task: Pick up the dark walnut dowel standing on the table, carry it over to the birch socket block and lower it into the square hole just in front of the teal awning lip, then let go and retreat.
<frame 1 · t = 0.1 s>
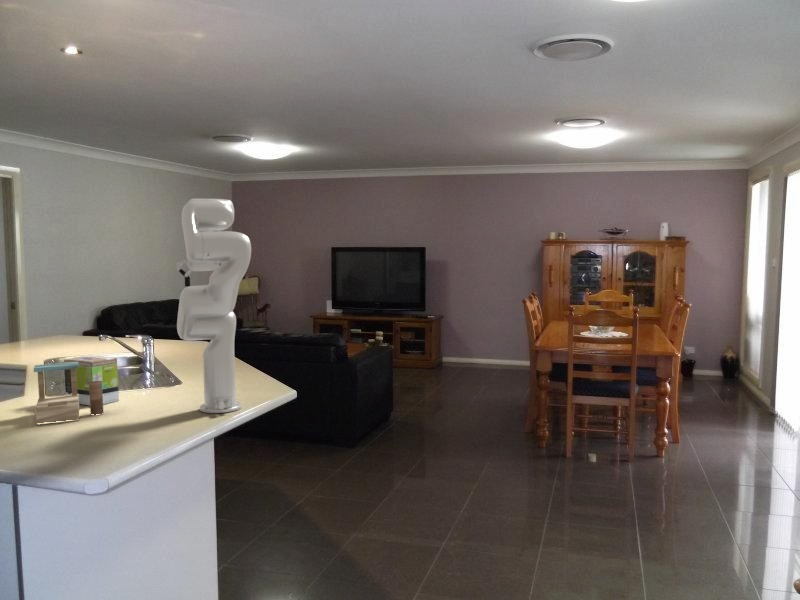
hand: (203, 288, 226), 37 cm above the table, tool pointing down, fingers open, 9 cm apart
tea box: (92, 402, 221), on the table
peg: (97, 414, 203), on the table
socket block: (58, 417, 200), on the table
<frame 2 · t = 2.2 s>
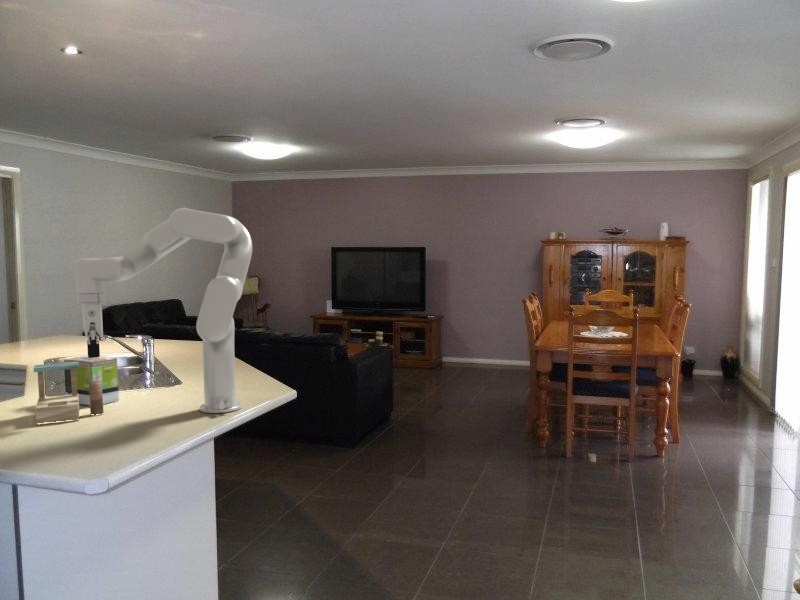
hand: (93, 355, 202), 18 cm above the table, tool pointing down, fingers open, 9 cm apart
nothing on the table moved.
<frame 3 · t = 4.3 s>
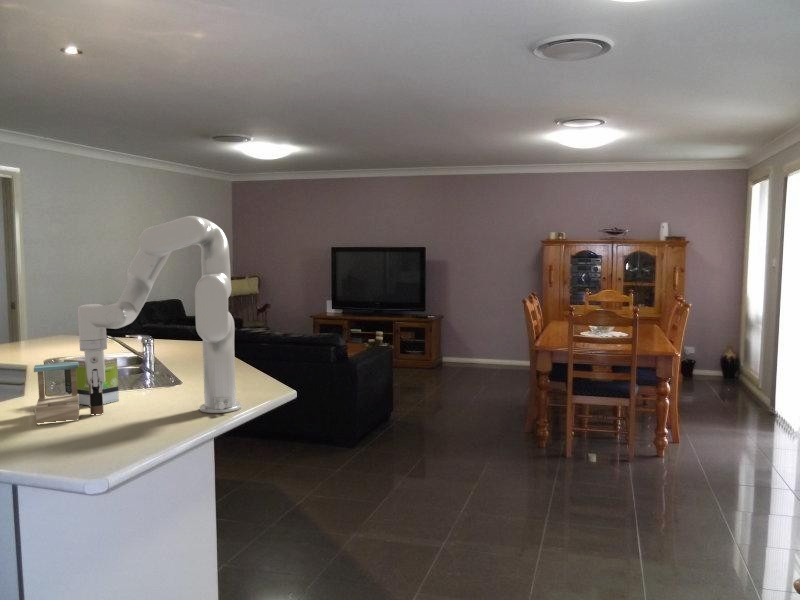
hand: (96, 403, 203), 3 cm above the table, tool pointing down, fingers closed on peg, 3 cm apart
peg: (97, 414, 203), on the table, touching gripper
everything else where it was.
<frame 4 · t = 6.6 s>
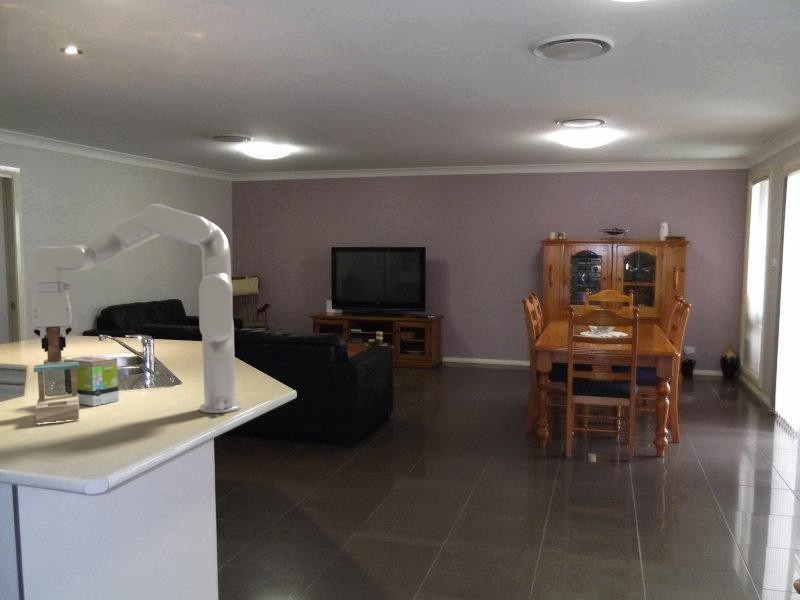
hand: (54, 350, 195), 21 cm above the table, tool pointing down, fingers closed on peg, 3 cm apart
peg: (54, 361, 195), point 18 cm above the table, touching gripper
everything else where it was.
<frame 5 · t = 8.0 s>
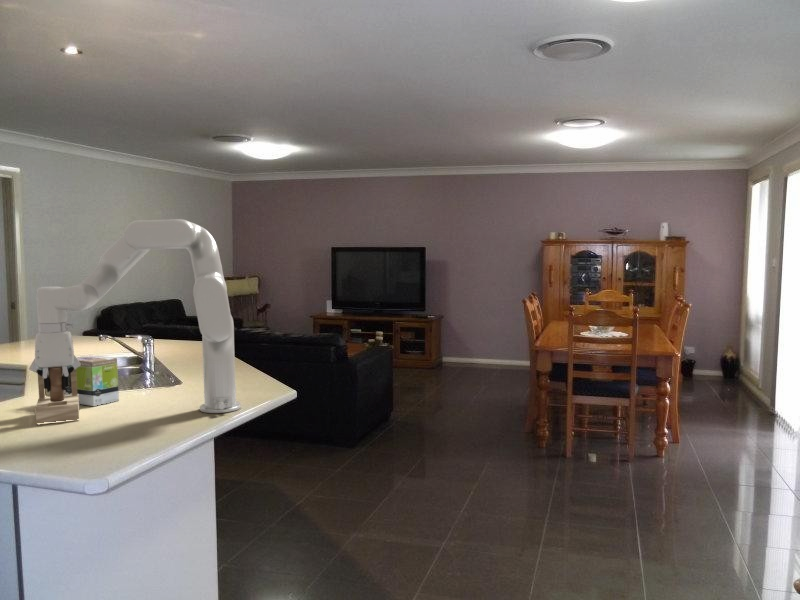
hand: (56, 389, 196), 9 cm above the table, tool pointing down, fingers closed on peg, 3 cm apart
peg: (57, 400, 196), point 6 cm above the table, touching gripper
everything else where it was.
when the fingers open (6 cm above the table, at t = 9.0 s): peg drops 2 cm, resting in socket block.
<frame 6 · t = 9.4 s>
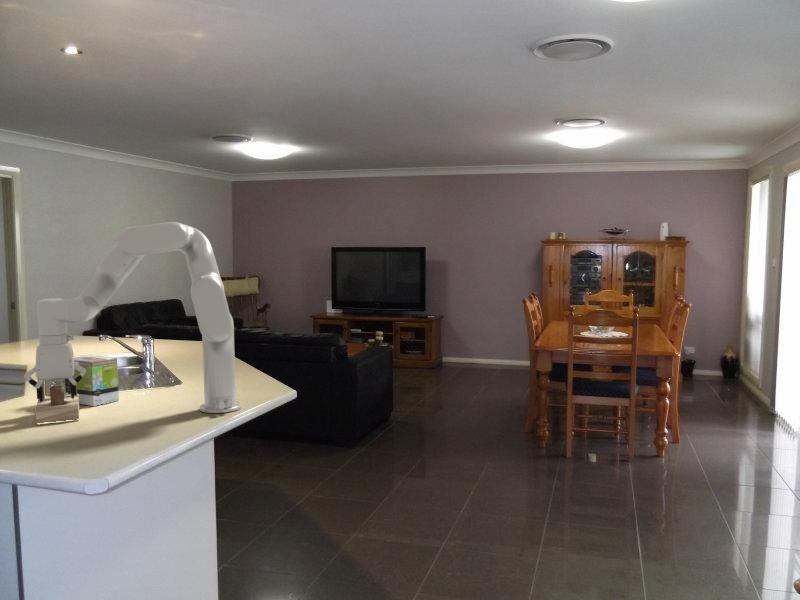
hand: (57, 399, 196), 6 cm above the table, tool pointing down, fingers open, 7 cm apart
peg: (58, 420, 197), resting in socket block
everything else where it was.
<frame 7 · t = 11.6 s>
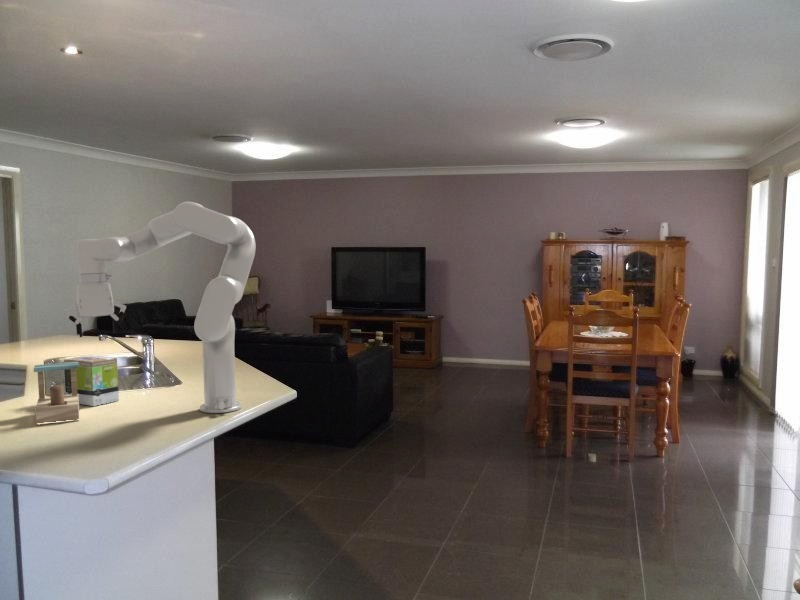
hand: (98, 335, 204), 24 cm above the table, tool pointing down, fingers open, 9 cm apart
nothing on the table moved.
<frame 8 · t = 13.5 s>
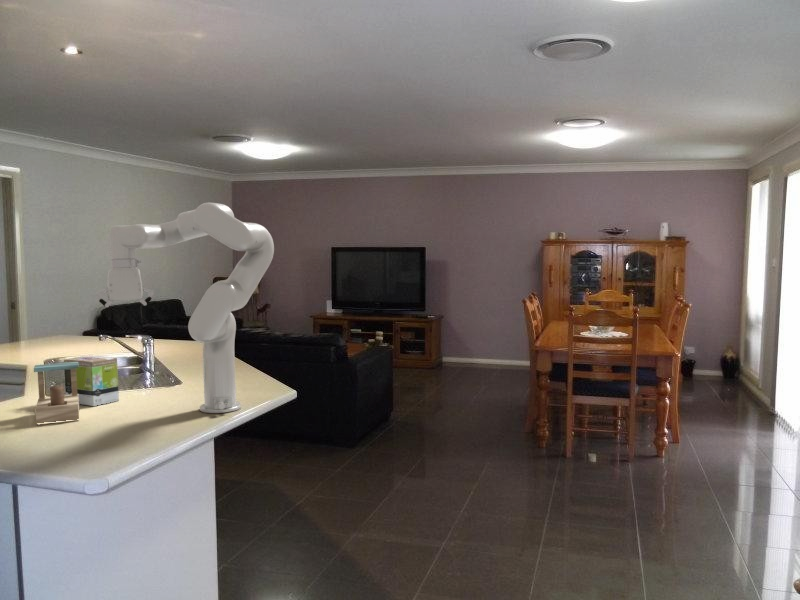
hand: (126, 318, 211), 28 cm above the table, tool pointing down, fingers open, 9 cm apart
nothing on the table moved.
at the end: peg 0.1 cm from the target spot on the socket block, point 0.0 cm above the socket block's base; peg tilted 0°; the gripper is holding nothing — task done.
